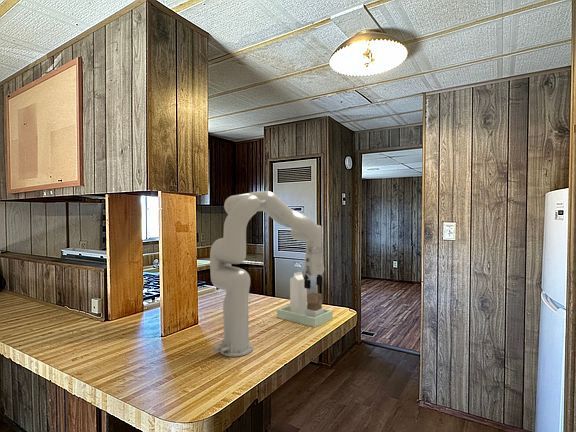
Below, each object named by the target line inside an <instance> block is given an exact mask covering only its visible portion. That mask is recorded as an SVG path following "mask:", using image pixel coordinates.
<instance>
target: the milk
mask: <svg viewBox="0 0 576 432" xmlns="http://www.w3.org/2000/svg"><path fill="white" fill-rule="evenodd" d="M307 290H308V289H307V288H304V278H303V275H302V271H297V272H293V276H292V277H290V278H289V300H290V301H289V302H290V304H289V305H290V312H293V313H297V314H302V315H305V309H307V295H308V294H307V292H308V291H307Z"/></svg>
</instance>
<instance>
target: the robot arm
mask: <svg viewBox="0 0 576 432" xmlns="http://www.w3.org/2000/svg"><path fill="white" fill-rule="evenodd" d="M223 208H224V211H225V212H226V214H227V216H226V217H225V220H224V223H223V237H220V238H218V239H216V240H215V241H214V242H213V243H212V245H211V247H210V253H209V265H210V267H209V268H210V273H209V275H210V282H211V283H212V285H213V286H214V287H215V288H217V289H219V290H222V291H225V295H224V298H223V304H222V311H223V312H222V316H223V317H222V319H223V320H222V322H223V327H222V328H223V339H221V343H219V344H218V345H215V346H213V348H212V350H213V352H214V353H218V352H219V353H220V354H221V355H223V356H226V357H231V358H232V357H236V358H237V357H242V356H246V355H248V354H250V353H251V352H252V351H253V350H254V345H253V343H252V342H250V339H249V338H250V337H249V336H250V335H249V333H250V332H249V329H250V328H249V327H250V325H249V296H250V295H249V294H250V287H251V276H250V274H249V272H248V271H247V270H245V269H243V268H240V267H238V266H232V265H240V264H242V263H243V262H244V261H245V260H246V257H247V227H248V223H249V221H251V219H252V217H254V215H256V214H257V212H264V213H265V214H267V216H269V217H270V218H271V219H272V220H273V221H274V222H276V223H277V224H278V225H280V226H282V227H286V228H290V236H291V238H292V239H294V240H295V241H299V242H305V257H304V266H303V267H304V268H303V269H302V270H301V272H302V275H303V278H304V288H307V290H308V289H309V290H311V285H312V284H311V283H312V282H311V277H315V276H316V277H315V279H316V280H315V281H316V286H320V287H321V286H323V277H324V274H325V267H324V256H323V253H322V251H323V245H322V244H323V242H322V241H323V228H322V226H321V225H320V224H317V223H315V222H314V221H313V220H312V219H311V218H310V217H308V216H306V215H305V214H303V213H300V212H298V211H296V210H294V209H292V208H290V207H289V206H288V205H287V204H286V203H285V202H284V200H282V199H281V198H280V197H279V196H277V194H275V192H272V191H269V190H260V191H252V192H247V193H241V194H240V193H239V194H235V195H234V194H233V195H230V196H228V197H227V198H226V199H225V201H224V205H223Z"/></svg>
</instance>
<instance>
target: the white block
mask: <svg viewBox="0 0 576 432" xmlns="http://www.w3.org/2000/svg"><path fill="white" fill-rule="evenodd" d="M324 309H325V308H324V307H322V309H320V310H317V311H313V310H309V309H305V315H306V316H310V317H317V316H319V315H321V314H323V313H324Z"/></svg>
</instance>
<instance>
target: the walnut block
mask: <svg viewBox="0 0 576 432" xmlns="http://www.w3.org/2000/svg"><path fill="white" fill-rule="evenodd" d="M322 296H323V295H322V293H318V292H310V293H308V294H307V309H309V310H313V311H317V310H320V309H322V308H323V306H322V305H323V301H322V299H323V297H322Z"/></svg>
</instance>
